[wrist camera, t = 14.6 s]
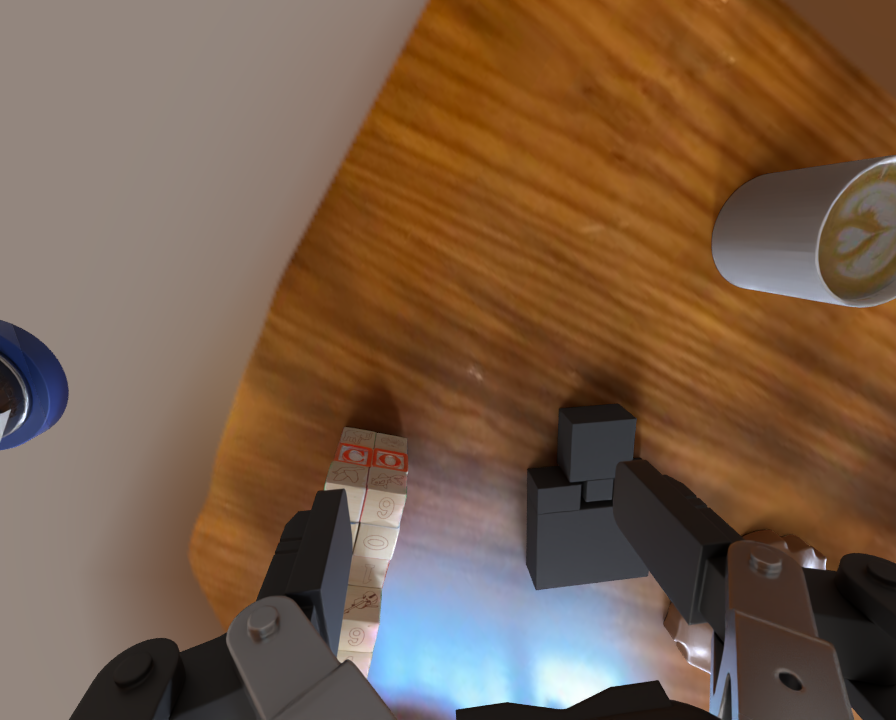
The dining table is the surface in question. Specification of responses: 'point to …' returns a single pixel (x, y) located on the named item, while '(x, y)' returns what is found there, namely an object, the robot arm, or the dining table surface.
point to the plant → (698, 637)
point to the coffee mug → (814, 233)
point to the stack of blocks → (368, 529)
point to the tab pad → (594, 446)
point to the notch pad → (573, 535)
